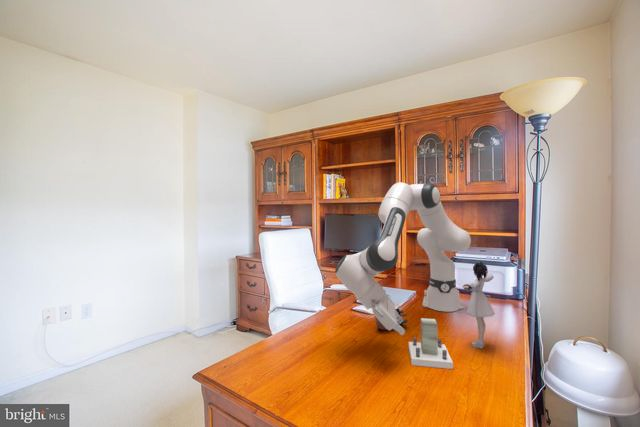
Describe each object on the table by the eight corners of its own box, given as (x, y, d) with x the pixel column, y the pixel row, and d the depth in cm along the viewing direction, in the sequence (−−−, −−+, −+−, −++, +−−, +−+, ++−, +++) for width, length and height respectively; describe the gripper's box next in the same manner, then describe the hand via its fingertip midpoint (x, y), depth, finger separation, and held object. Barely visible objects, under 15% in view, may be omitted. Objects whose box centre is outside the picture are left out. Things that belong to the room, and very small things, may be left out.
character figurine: (411, 329, 121) (380, 336, 115) (399, 321, 128) (370, 328, 122) (411, 310, 121) (381, 316, 114) (400, 303, 127) (370, 309, 121)
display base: (408, 347, 105) (408, 334, 105) (444, 350, 103) (444, 337, 102) (411, 365, 93) (411, 351, 93) (452, 369, 91) (452, 354, 91)
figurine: (479, 332, 116) (479, 256, 116) (504, 339, 110) (504, 259, 110) (454, 355, 99) (454, 265, 98) (481, 364, 93) (482, 269, 92)
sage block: (420, 347, 101) (420, 318, 100) (434, 348, 100) (435, 319, 99) (422, 353, 96) (422, 323, 96) (437, 355, 95) (437, 324, 95)
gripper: (379, 299, 90) (412, 334, 88) (379, 282, 110) (406, 310, 108) (364, 313, 91) (397, 347, 89) (367, 294, 111) (394, 321, 109)
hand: (402, 327), depth 99 cm, fingers open, 8 cm apart
